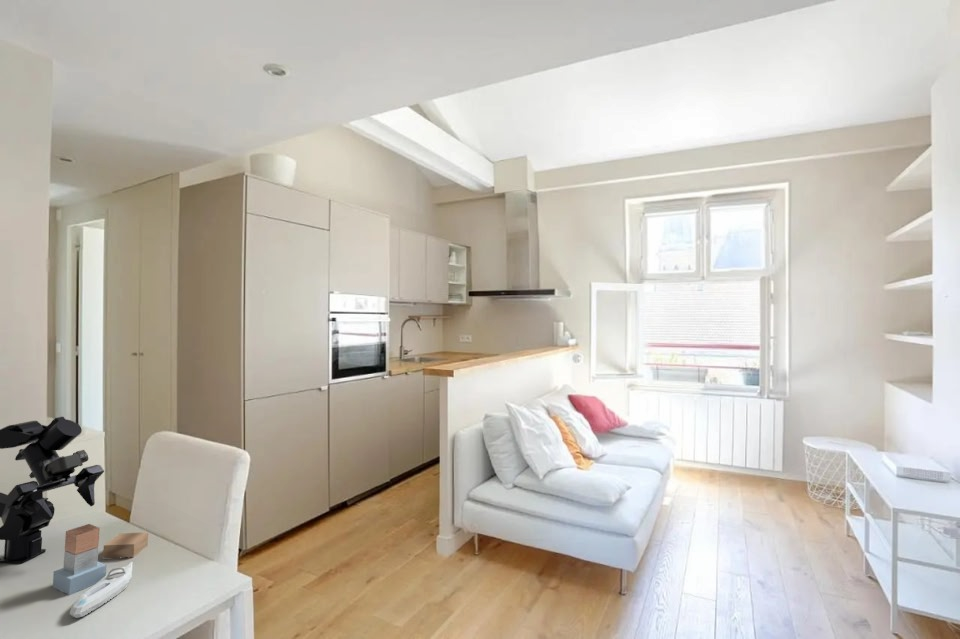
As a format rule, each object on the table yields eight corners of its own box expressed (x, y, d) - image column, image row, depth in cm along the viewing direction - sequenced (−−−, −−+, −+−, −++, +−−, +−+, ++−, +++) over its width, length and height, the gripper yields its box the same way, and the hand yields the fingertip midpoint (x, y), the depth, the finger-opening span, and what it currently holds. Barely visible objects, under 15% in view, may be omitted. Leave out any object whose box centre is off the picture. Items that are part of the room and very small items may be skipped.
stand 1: (52, 586, 104) (53, 571, 104) (88, 572, 110) (89, 557, 110) (69, 595, 101) (70, 579, 101) (105, 579, 108) (106, 564, 108)
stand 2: (102, 559, 117) (103, 545, 117) (118, 546, 123) (119, 533, 124) (133, 557, 118) (134, 544, 118) (147, 544, 125) (148, 532, 125)
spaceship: (96, 622, 93) (97, 600, 93) (58, 626, 92) (59, 603, 92) (150, 564, 116) (151, 546, 116) (120, 566, 114) (121, 549, 114)
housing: (63, 570, 105) (65, 531, 105) (86, 561, 109) (88, 523, 109) (73, 575, 103) (76, 535, 103) (97, 566, 107) (99, 527, 107)
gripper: (16, 451, 106) (46, 505, 102) (101, 434, 124) (129, 480, 120) (-9, 480, 108) (19, 535, 104) (78, 460, 126) (105, 505, 122)
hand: (72, 511), depth 113 cm, fingers open, 9 cm apart
